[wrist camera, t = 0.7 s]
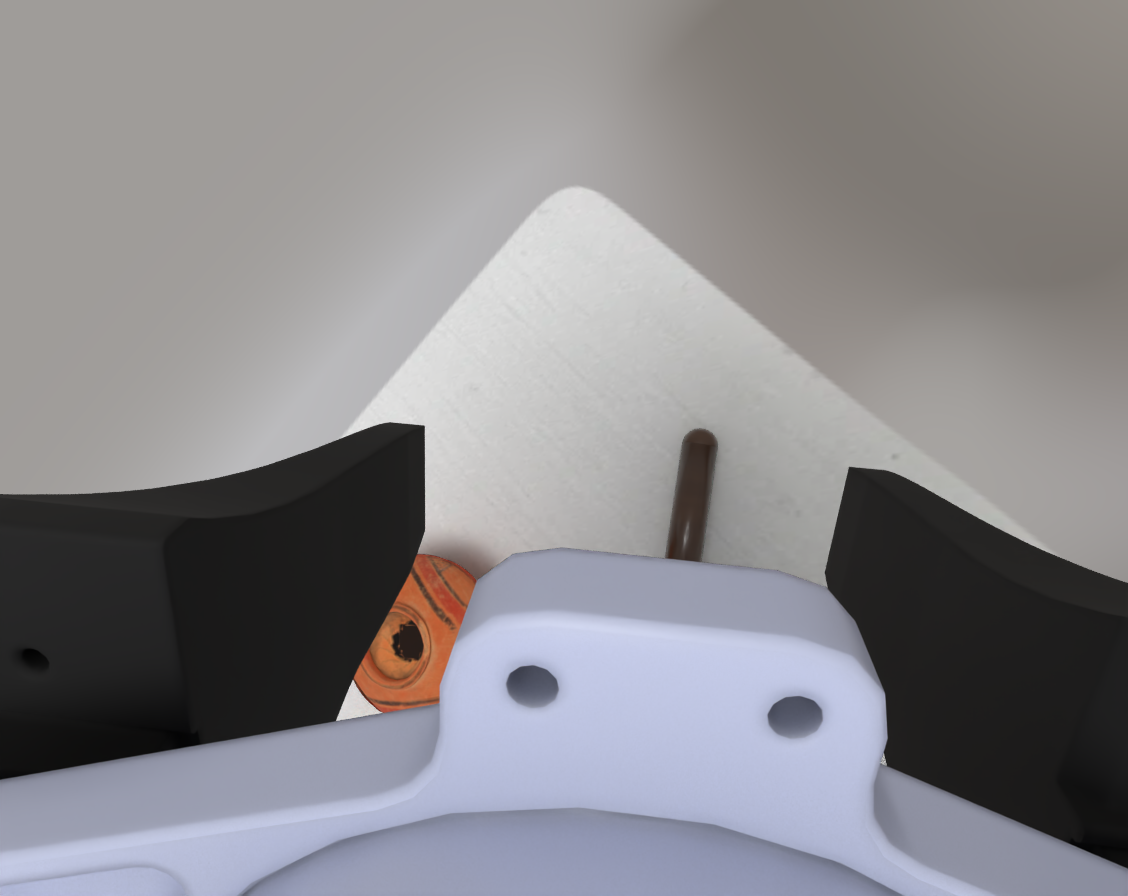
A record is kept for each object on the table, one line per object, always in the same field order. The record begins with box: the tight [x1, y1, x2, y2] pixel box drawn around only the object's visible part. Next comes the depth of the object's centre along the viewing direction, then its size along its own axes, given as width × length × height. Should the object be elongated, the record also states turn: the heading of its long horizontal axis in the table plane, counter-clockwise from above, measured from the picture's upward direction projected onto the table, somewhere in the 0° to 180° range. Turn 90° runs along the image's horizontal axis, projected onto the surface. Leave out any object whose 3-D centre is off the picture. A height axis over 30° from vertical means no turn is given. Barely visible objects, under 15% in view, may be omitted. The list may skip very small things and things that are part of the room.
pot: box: [353, 554, 477, 713], centre depth 38 cm, size 8×8×7 cm
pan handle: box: [665, 428, 718, 562], centre depth 35 cm, size 9×2×2 cm, turn 170°
